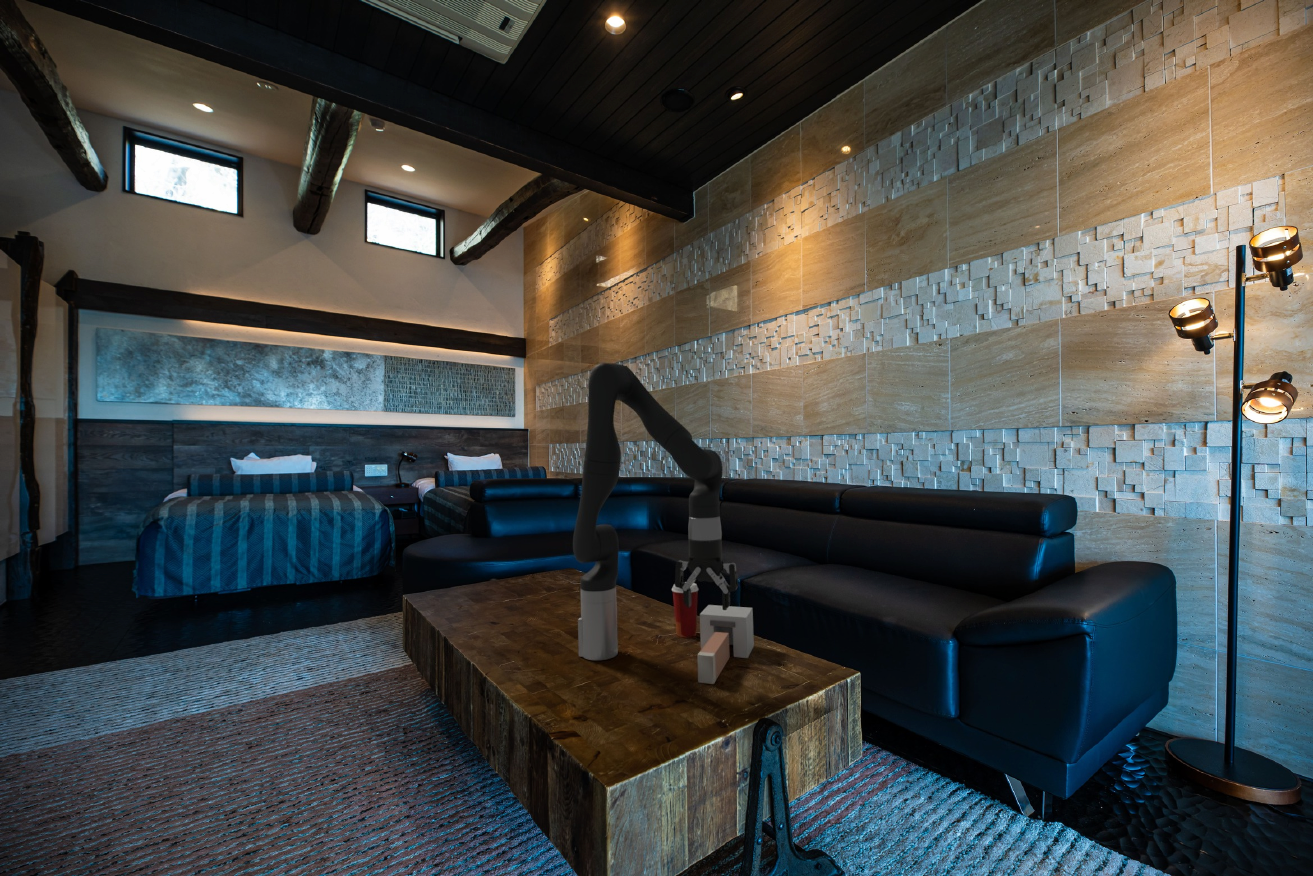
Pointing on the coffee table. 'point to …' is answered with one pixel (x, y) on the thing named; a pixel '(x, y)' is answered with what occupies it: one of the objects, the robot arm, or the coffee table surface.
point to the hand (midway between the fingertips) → (706, 607)
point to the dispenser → (729, 627)
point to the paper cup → (685, 612)
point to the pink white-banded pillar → (713, 657)
